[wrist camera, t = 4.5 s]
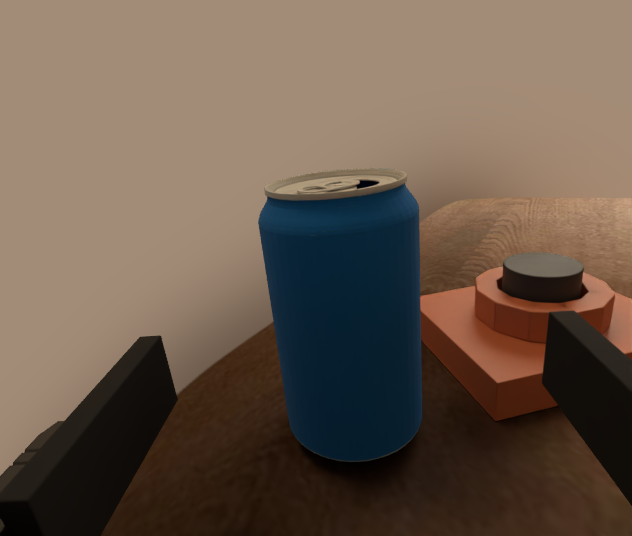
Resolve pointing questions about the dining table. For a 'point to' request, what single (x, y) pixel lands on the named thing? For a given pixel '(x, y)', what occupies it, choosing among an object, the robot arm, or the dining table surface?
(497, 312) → the brew pad
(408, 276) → the beverage can
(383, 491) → the dining table surface
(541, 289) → the button
